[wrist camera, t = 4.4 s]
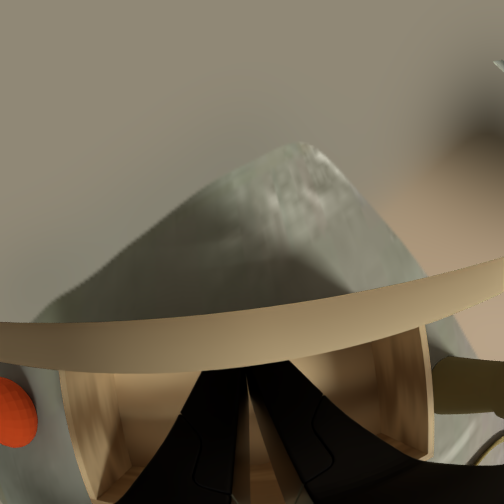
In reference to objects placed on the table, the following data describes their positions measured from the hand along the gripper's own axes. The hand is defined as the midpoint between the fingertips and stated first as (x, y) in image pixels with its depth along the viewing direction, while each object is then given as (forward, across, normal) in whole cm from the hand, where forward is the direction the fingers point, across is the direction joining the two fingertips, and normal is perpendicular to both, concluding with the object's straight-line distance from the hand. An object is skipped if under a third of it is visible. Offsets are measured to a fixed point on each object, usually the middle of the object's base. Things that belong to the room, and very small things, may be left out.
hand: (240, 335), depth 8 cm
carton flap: (0, 0, 0) cm, 0 cm away
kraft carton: (+6, 0, +13) cm, 14 cm away
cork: (+4, -19, +16) cm, 25 cm away
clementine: (+5, +23, +14) cm, 28 cm away
